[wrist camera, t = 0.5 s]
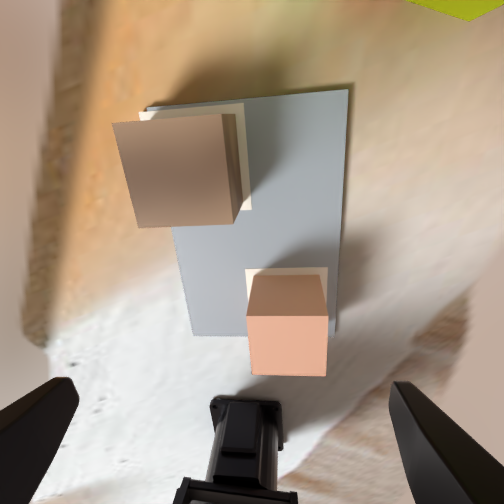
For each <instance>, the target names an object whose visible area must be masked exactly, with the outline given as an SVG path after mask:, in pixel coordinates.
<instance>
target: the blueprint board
mask: <svg viewBox="0 0 504 504" xmlns="http://www.w3.org/2000/svg"><path fill="white" fill-rule="evenodd" d="M347 107H348V89H344V90H333V91H322V92H311V93H300V94H290V95H279V96H268V97H257V98H246V99H235V100H224V101H213V102H202V103H191V104H180V105H169V106H158V107H148V108H147V112H139V116H140V121H144V120H155V119H167V118H178V117H190V116H202V115H213V114H235V116H236V127H237V138H238V149H239V160H240V172H241V183H242V194H243V204H242V206H241V209H240V211H239V213H238V215H237V217H236V220H235V222H234V224H232V225H206V226H181V227H171V230H172V234H173V239H174V244H175V249H176V254H177V259H178V264H179V269H180V273H181V278H182V283H183V288H184V293H185V298H186V303H187V308H188V312H189V317H190V322H191V327H192V332H193V336H248V330H247V321H246V313H247V308H248V303H249V297H250V292H251V286H252V281H253V276H269V275H320V280H321V284H322V289H323V293H324V298H325V302H326V307H327V311H328V316H329V317H328V337H335V321H336V303H337V286H338V268H339V250H340V232H341V214H342V196H343V179H344V161H345V143H346V125H347Z"/></svg>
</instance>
